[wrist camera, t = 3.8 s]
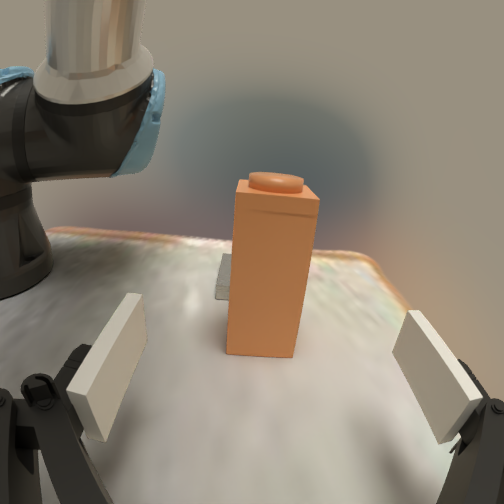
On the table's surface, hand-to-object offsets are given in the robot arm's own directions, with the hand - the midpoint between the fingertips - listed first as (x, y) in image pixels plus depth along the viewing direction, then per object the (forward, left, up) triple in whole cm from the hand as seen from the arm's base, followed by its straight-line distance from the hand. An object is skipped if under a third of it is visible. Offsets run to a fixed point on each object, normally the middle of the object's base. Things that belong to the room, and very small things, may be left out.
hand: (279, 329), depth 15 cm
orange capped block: (-7, +5, -7) cm, 11 cm away
